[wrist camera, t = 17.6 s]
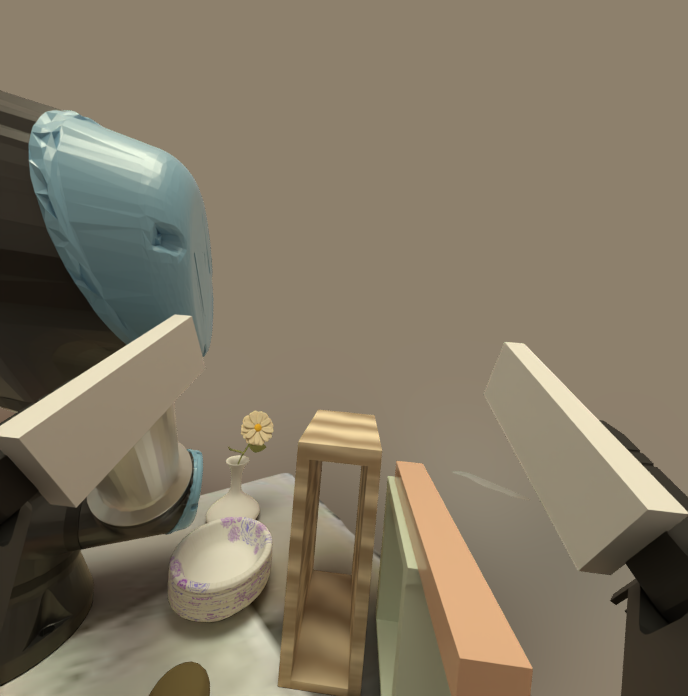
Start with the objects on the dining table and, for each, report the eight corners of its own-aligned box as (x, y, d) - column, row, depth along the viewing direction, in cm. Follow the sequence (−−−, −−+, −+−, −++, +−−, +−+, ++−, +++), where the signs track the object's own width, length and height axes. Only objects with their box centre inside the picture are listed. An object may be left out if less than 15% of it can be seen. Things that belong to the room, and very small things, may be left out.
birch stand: (359, 699, 32) (382, 450, 32) (277, 686, 33) (298, 441, 32) (359, 581, 48) (374, 415, 48) (304, 574, 49) (318, 409, 48)
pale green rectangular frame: (451, 809, 25) (473, 576, 25) (386, 797, 25) (407, 567, 25) (413, 618, 42) (426, 480, 42) (375, 612, 43) (387, 475, 42)
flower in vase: (204, 543, 54) (214, 419, 53) (205, 510, 64) (213, 405, 64) (270, 528, 60) (280, 416, 59) (261, 499, 70) (269, 404, 69)
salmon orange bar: (527, 721, 15) (532, 669, 15) (455, 710, 15) (459, 658, 15) (420, 483, 41) (422, 463, 41) (394, 480, 41) (396, 460, 41)
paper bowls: (138, 632, 37) (142, 576, 37) (206, 550, 52) (209, 509, 52) (242, 656, 36) (247, 597, 35) (282, 563, 51) (285, 522, 50)
